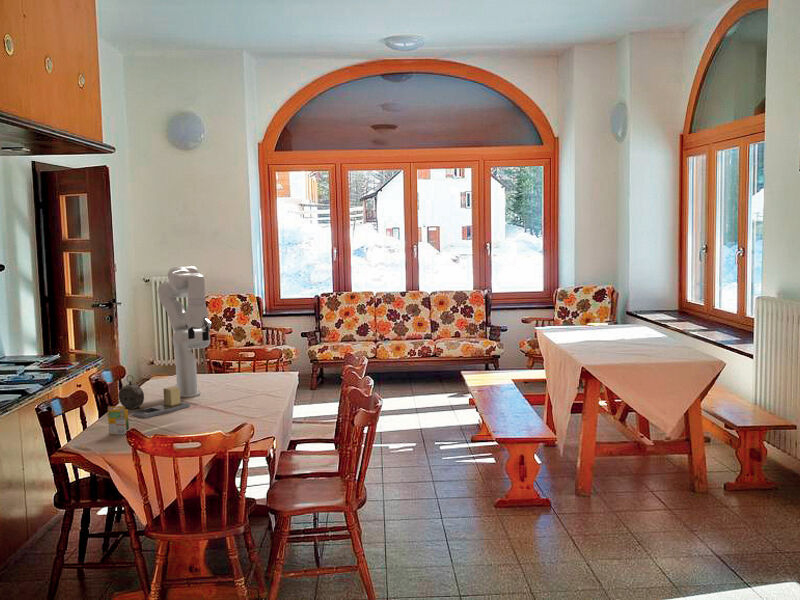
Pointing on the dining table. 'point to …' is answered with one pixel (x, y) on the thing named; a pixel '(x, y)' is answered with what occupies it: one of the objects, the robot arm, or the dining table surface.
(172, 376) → the dining table surface
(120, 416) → the crayon box
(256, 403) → the dining table surface
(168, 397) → the brushed gold block
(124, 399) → the alarm clock
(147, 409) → the divided tray
